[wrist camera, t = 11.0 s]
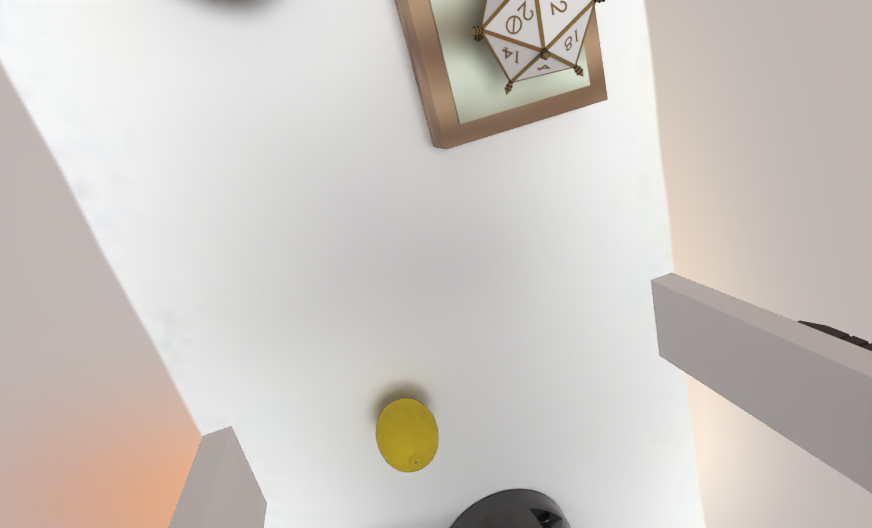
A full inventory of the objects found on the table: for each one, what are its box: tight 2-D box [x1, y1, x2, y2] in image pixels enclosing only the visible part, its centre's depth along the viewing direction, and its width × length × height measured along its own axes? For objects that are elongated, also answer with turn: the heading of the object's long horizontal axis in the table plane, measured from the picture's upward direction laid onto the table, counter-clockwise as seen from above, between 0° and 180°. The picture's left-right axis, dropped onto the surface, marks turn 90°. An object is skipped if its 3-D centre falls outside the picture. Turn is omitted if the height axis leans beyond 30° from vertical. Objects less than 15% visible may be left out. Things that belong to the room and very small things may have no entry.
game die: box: [469, 0, 605, 95], centre depth 32 cm, size 9×8×10 cm
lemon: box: [376, 398, 438, 472], centre depth 43 cm, size 6×6×8 cm
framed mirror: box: [395, 0, 607, 149], centre depth 37 cm, size 14×14×4 cm
